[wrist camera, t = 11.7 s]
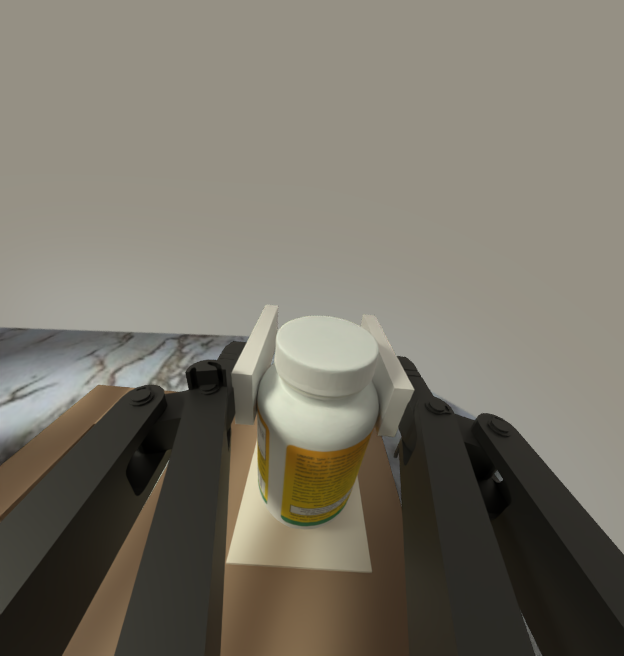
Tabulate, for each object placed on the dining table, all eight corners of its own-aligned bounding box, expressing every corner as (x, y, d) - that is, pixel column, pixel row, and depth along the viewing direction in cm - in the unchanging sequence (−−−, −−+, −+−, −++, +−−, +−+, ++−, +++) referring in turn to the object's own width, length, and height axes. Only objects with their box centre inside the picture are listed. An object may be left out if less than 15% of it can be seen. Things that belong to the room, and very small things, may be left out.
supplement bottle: (237, 484, 13) (223, 335, 8) (298, 422, 17) (311, 299, 12) (316, 566, 10) (359, 415, 6) (366, 470, 14) (414, 337, 10)
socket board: (-220, 692, 8) (-273, 685, 7) (103, 397, 20) (97, 383, 20) (444, 718, 9) (462, 715, 8) (370, 420, 21) (374, 407, 20)
